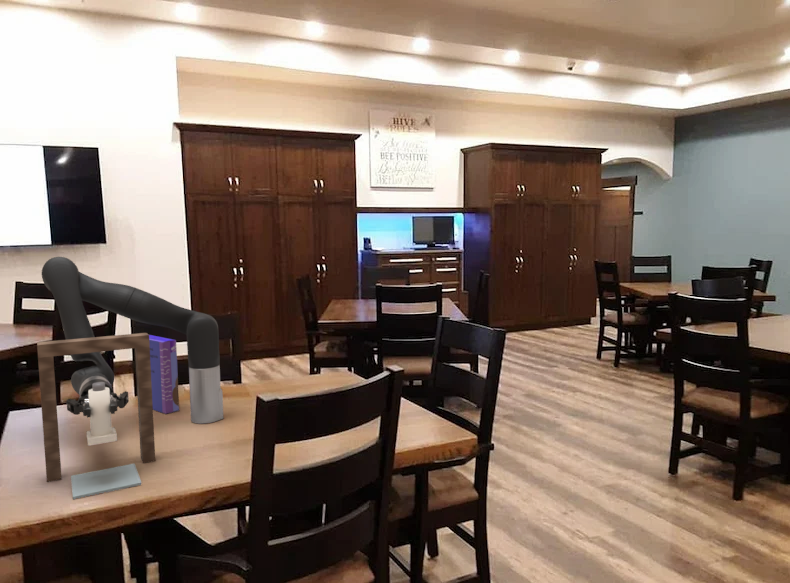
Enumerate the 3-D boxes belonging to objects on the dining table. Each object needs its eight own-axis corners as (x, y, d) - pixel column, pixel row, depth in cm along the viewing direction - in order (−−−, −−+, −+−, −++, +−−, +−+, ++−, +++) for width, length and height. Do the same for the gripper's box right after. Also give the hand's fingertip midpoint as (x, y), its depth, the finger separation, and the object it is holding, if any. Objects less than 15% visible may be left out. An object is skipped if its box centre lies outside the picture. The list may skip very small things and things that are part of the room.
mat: (134, 465, 144) (134, 463, 144) (141, 484, 133) (141, 482, 133) (71, 478, 137) (70, 475, 137) (72, 499, 126) (72, 497, 126)
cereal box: (179, 410, 189) (176, 339, 186) (165, 414, 185) (162, 341, 182) (151, 401, 199) (148, 333, 197) (138, 404, 196) (134, 335, 193)
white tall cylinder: (114, 432, 138) (111, 378, 137) (117, 440, 133) (113, 384, 132) (86, 437, 135) (83, 382, 134) (88, 445, 130) (84, 388, 129)
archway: (153, 455, 151) (146, 332, 147) (155, 460, 147) (149, 335, 144) (46, 475, 138) (37, 342, 135) (46, 482, 135) (37, 345, 131)
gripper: (63, 382, 142) (64, 400, 127) (126, 375, 149) (133, 391, 134) (65, 411, 143) (66, 432, 128) (127, 403, 150) (135, 421, 135)
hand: (100, 411), depth 131 cm, fingers closed on white tall cylinder, 4 cm apart
